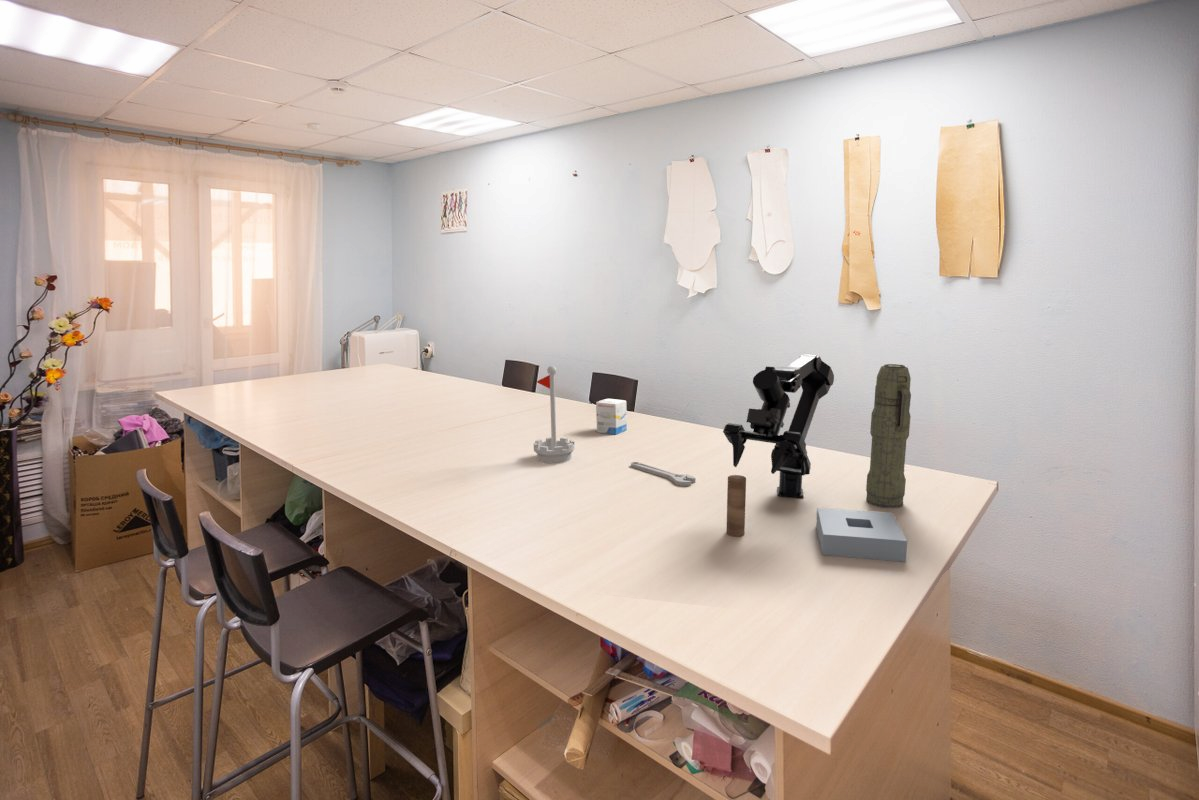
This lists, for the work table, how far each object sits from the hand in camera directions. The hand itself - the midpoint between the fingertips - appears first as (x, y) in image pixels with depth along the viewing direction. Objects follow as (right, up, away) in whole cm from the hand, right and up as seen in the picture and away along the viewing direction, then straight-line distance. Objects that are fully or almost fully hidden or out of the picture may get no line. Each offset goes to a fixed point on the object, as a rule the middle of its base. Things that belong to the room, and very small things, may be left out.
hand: (753, 469), depth 150 cm
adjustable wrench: (-17, -6, +40) cm, 44 cm away
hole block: (+20, -15, -9) cm, 27 cm away
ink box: (-31, +4, +93) cm, 98 cm away
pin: (-5, -14, -3) cm, 15 cm away
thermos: (+37, -10, +15) cm, 41 cm away
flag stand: (-50, -3, +59) cm, 77 cm away
